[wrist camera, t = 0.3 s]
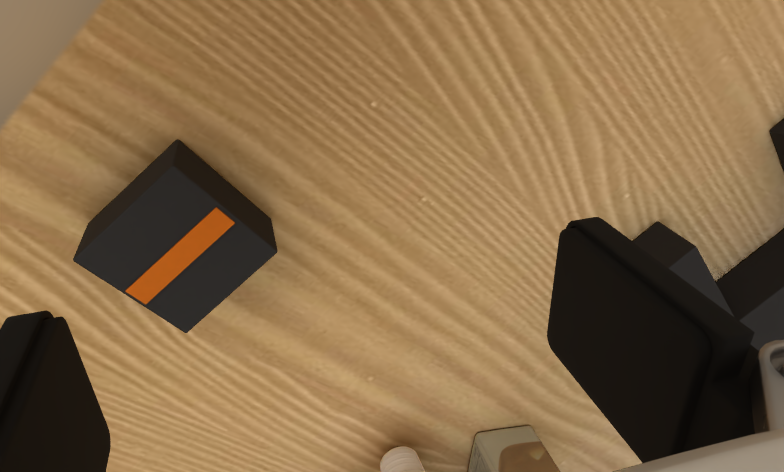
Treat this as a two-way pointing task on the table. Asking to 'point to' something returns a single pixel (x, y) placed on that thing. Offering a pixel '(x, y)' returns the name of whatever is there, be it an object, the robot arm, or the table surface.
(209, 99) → the table surface
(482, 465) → the cosmetic box
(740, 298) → the black notched block
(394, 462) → the lightbulb
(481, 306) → the table surface
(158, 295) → the tile
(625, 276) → the robot arm
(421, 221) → the table surface
